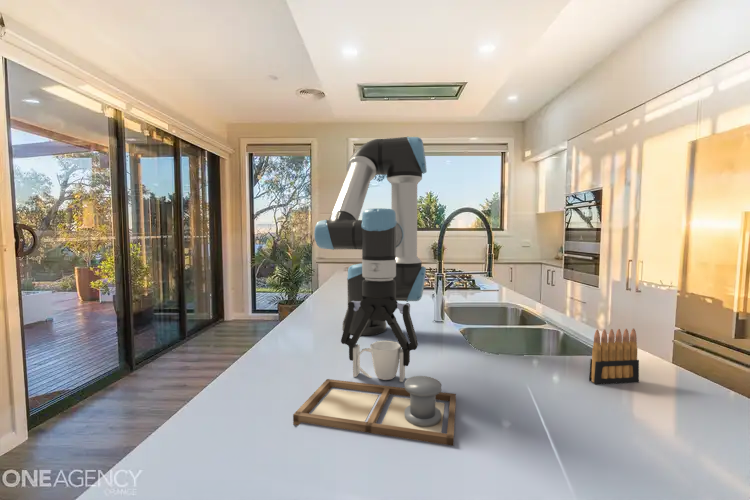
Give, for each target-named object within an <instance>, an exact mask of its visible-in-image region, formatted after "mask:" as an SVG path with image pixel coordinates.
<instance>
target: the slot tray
mask: <svg viewBox="0 0 750 500" xmlns="http://www.w3.org/2000/svg"><path fill="white" fill-rule="evenodd" d="M332 388H333V389H332ZM335 388H337V389H335ZM341 389H343V390H341ZM344 389H345V390H344ZM349 390H350V391H349ZM351 390H354V391H351ZM358 391H359V392H358ZM360 391H362V392H360ZM366 392H368V393H366ZM374 393H378V394H374ZM379 394H381V395H380V396H379ZM325 395H326V396H325ZM390 395H395V396H393V397H392V399H391V402H390V404H389V406H388V409H387V411H386V412H385V413H386V414H385V415H384V418H383V420H382V421H381V423H377V422H378V419H379V418H380V415H381V413H382V411H383V410H384V407H385V405H386V403H387V400H388V399H389V396H390ZM399 396H401V397H399ZM402 396H403V397H402ZM407 397H408V398H407ZM378 398H379V399H378ZM377 399H378V400H377ZM376 401H377V402H376ZM439 401H444V402H439ZM319 402H320V403H319ZM446 402H449V406H448V407H449V409H448V416H447V417H448V418H447V429H446V433H445V432H444V433H443V432H442V429H443V423H444V422H443V421H444V412H445V406H446V405H445V403H446ZM456 402H457V393H451V392H450V393H449V392H442V391H441V392H440V393H439V394H437V395H435V407H436V408H438V409H439V410H440V412H441V421H440V422H439V423H438V424H437V425H435V426H431V427H419V426H415V425H412V424H410V423H409V422H408V421H407V420H406V419H405V409H406V408H407V407H408V406H410V393H409V392H407V391H406V390H405V387H399V386H392V385H382V384H374V383H366V382H365V383H364V382H357V381H348V380H339V379H330V378H327V379H326V380H324V382H323V383H322V384H321V385H320V386H319V387H318V388H317V389H316V390H315V391H314V392H313V393H312V394H311V395H310V396H309V397H308V398H307V399H306V400H305V401H304V402H303V404H302V405H300V407H299V408H298V409H297V410H296V411H295V412H294V413H293V414H292V421H293V422H292V423H293V424H292V425H293V426H299V425H301V423H303V424H304V423H305V424H309V425H317V426H321V427H322V426H323V427H328V428H329V427H330V428H336V429H342V430H348V431H349V430H350V431H354V432H362V433H368V434H375V435H380V436H381V435H382V436H388V437H393V438H401V439H408V440H413V441H414V440H415V441H418V442H419V441H420V442H426V443H431V444H439V445H446V446H452V447H454V437H455V425H456V423H455V422H456V405H457V404H456ZM375 403H376V404H375ZM374 405H375V406H374ZM373 407H374V408H373ZM313 409H314V410H313ZM312 410H313V411H312ZM311 411H312V412H311ZM371 411H372V412H371ZM370 412H371V414H370ZM369 414H370V416H369ZM368 416H369V418H368ZM367 418H368V420H366V419H367Z"/></svg>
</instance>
